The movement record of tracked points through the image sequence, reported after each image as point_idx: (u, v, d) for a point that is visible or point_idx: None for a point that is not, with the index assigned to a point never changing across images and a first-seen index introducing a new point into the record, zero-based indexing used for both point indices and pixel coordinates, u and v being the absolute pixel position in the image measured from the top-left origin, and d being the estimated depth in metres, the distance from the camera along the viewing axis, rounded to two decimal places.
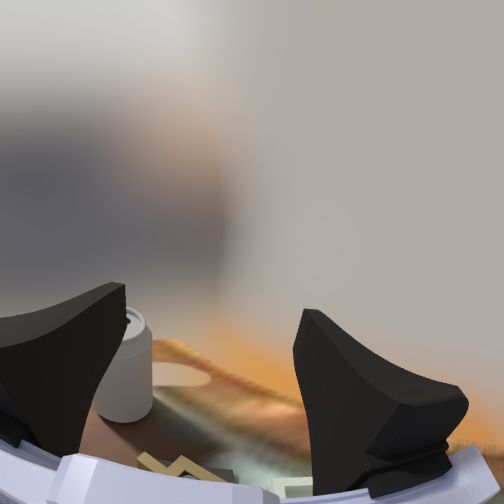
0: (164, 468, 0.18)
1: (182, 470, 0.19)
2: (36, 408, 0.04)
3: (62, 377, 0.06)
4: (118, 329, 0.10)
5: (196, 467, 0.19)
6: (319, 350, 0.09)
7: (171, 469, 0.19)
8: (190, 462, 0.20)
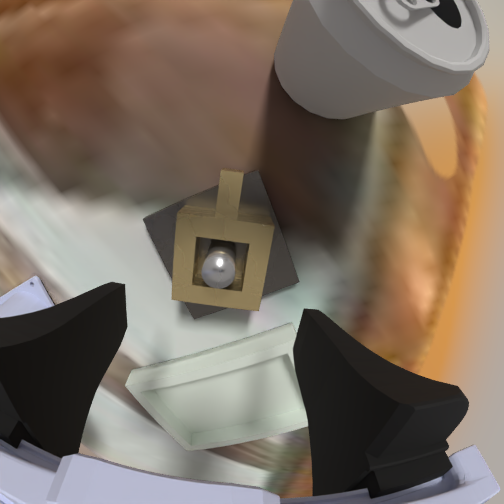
0: (232, 217, 0.16)
1: (247, 241, 0.16)
2: (36, 408, 0.04)
3: (62, 377, 0.06)
4: (118, 329, 0.10)
5: (263, 256, 0.16)
6: (319, 350, 0.09)
7: (238, 226, 0.16)
8: (267, 244, 0.16)
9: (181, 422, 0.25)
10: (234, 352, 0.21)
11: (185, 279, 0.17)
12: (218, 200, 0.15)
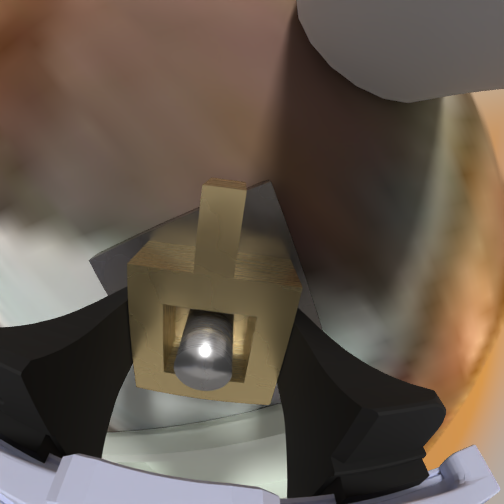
0: (226, 273, 0.08)
1: (252, 313, 0.09)
2: (64, 420, 0.04)
3: (88, 385, 0.06)
4: None
5: (280, 335, 0.09)
6: (294, 349, 0.09)
7: (237, 289, 0.09)
8: (288, 317, 0.09)
9: None
10: (233, 433, 0.14)
11: (153, 364, 0.10)
12: (198, 242, 0.08)
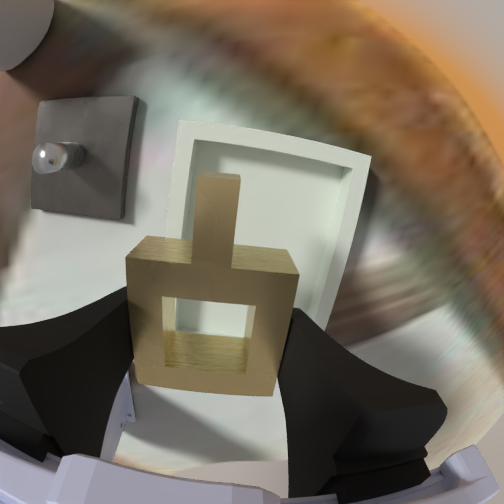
0: (224, 262, 0.09)
1: (251, 302, 0.09)
2: (62, 419, 0.04)
3: (86, 385, 0.06)
4: None
5: (280, 324, 0.09)
6: (296, 349, 0.09)
7: (235, 278, 0.09)
8: (287, 305, 0.09)
9: None
10: None
11: (153, 358, 0.10)
12: (195, 233, 0.08)
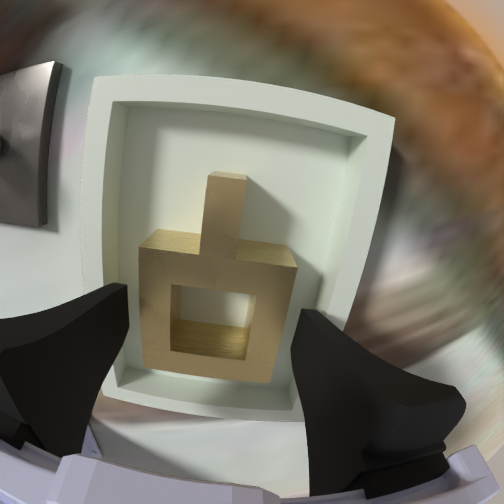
0: (229, 254, 0.09)
1: (252, 292, 0.10)
2: (39, 409, 0.04)
3: (65, 378, 0.06)
4: (120, 330, 0.10)
5: (278, 313, 0.10)
6: (316, 350, 0.09)
7: (239, 269, 0.10)
8: (285, 295, 0.10)
9: (249, 386, 0.14)
10: None
11: (160, 343, 0.11)
12: (204, 226, 0.09)
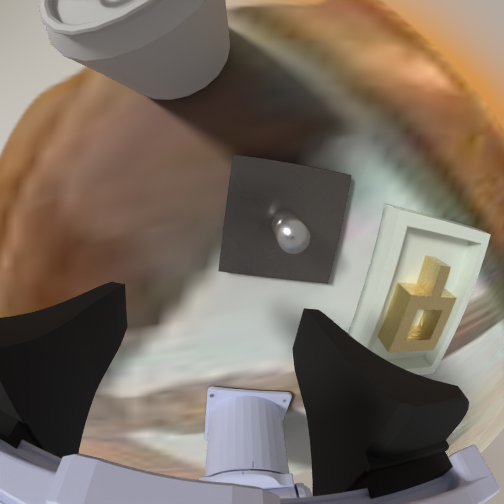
0: (439, 295, 0.19)
1: (442, 309, 0.20)
2: (36, 408, 0.04)
3: (62, 377, 0.06)
4: (118, 329, 0.10)
5: (446, 316, 0.20)
6: (319, 350, 0.09)
7: (440, 300, 0.20)
8: (450, 309, 0.20)
9: (408, 358, 0.24)
10: (377, 269, 0.20)
11: (402, 337, 0.20)
12: (435, 285, 0.19)
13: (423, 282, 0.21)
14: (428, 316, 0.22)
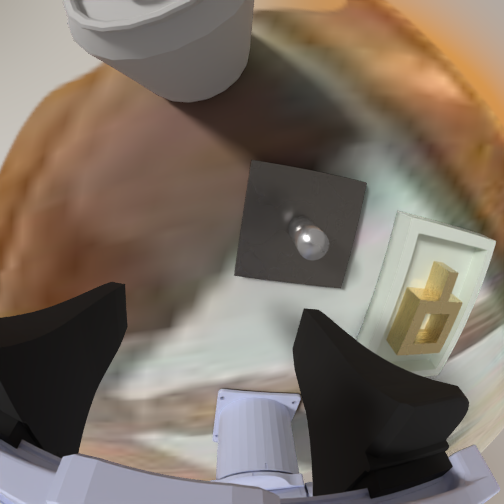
0: (447, 300, 0.20)
1: (448, 313, 0.20)
2: (36, 408, 0.04)
3: (62, 377, 0.06)
4: (118, 329, 0.10)
5: (453, 320, 0.20)
6: (319, 350, 0.09)
7: (448, 305, 0.20)
8: (456, 313, 0.20)
9: (414, 360, 0.25)
10: (389, 275, 0.20)
11: (410, 341, 0.21)
12: (443, 290, 0.19)
13: (431, 287, 0.21)
14: (435, 320, 0.22)
